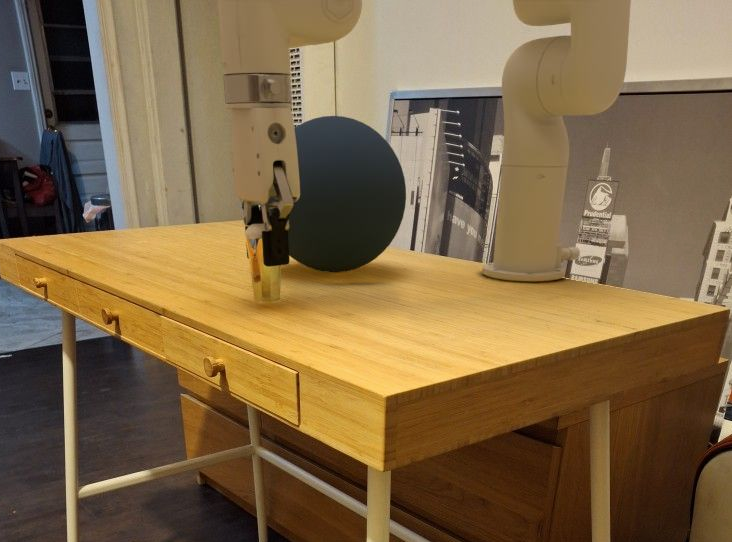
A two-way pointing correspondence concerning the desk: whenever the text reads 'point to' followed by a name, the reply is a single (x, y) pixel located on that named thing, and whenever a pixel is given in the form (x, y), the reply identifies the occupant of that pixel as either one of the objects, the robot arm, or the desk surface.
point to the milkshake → (261, 267)
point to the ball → (344, 195)
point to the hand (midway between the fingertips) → (268, 260)
